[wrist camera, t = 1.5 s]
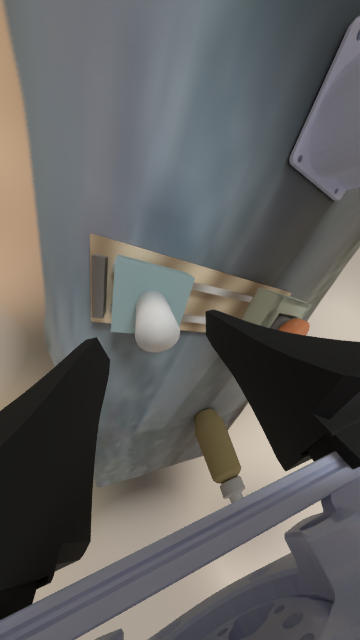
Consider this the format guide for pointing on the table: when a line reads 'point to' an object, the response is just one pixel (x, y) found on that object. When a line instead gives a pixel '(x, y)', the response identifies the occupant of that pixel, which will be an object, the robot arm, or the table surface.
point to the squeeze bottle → (219, 453)
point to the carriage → (149, 302)
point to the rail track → (208, 284)
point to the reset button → (290, 325)
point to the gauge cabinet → (273, 307)
